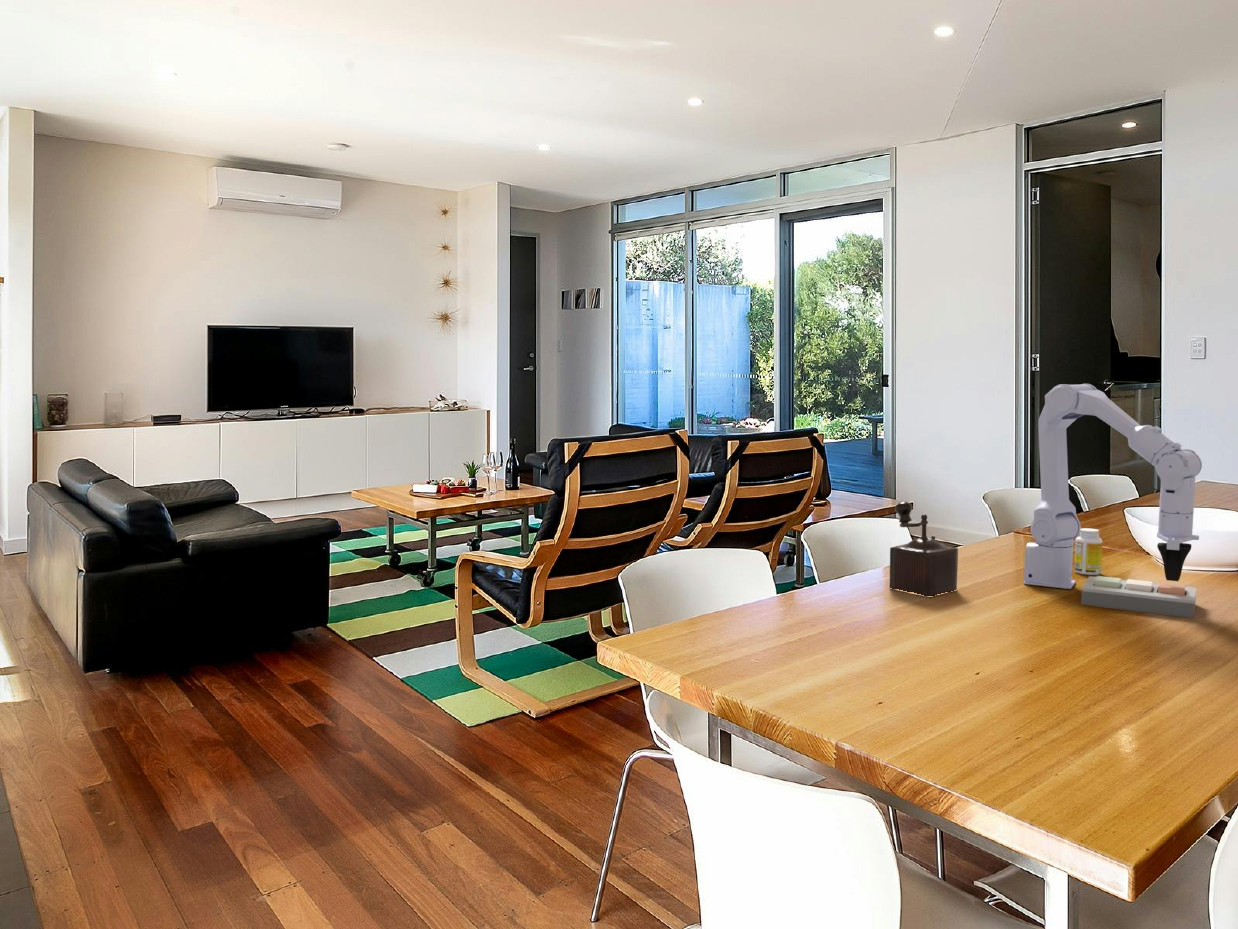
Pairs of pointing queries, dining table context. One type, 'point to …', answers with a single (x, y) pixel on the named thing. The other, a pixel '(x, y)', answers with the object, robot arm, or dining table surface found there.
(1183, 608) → the keypad base
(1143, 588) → the cream key
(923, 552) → the manual coffee grinder
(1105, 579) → the sage key
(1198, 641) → the dining table surface
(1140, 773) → the dining table surface
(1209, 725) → the dining table surface
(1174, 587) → the terracotta key
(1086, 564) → the supplement bottle
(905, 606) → the dining table surface
